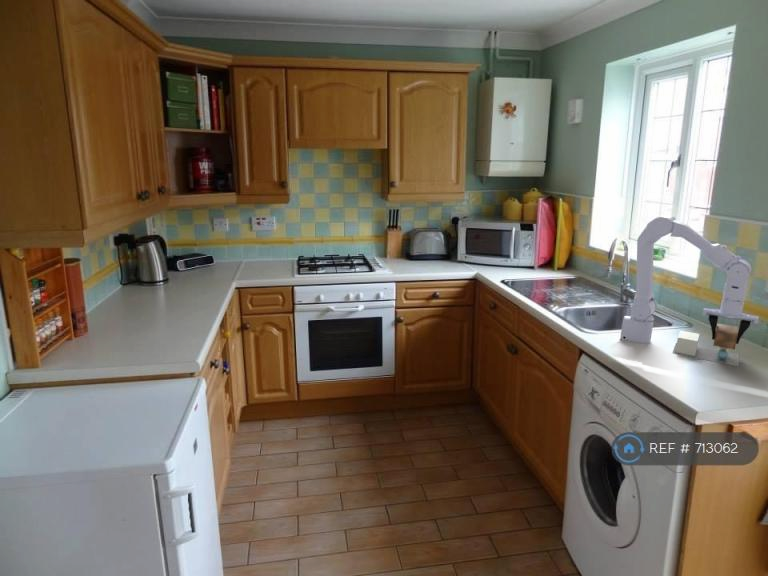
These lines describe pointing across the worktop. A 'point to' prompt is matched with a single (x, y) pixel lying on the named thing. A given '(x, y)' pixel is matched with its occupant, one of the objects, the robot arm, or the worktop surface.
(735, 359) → the board
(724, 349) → the marble
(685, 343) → the white box
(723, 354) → the marble
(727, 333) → the walnut box
